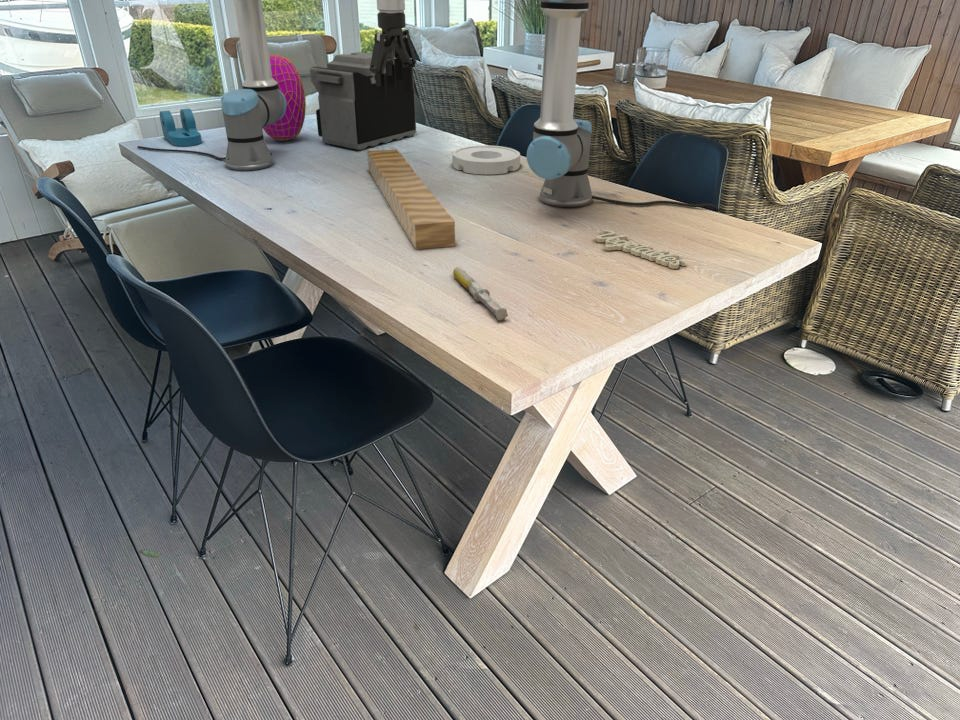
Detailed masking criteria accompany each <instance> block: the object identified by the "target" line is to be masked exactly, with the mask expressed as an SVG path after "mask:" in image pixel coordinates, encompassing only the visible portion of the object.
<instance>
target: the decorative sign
mask: <svg viewBox="0 0 960 720" xmlns="http://www.w3.org/2000/svg"><path fill="white" fill-rule="evenodd" d="M595 242H597V243H604V244H605V245H604V251H607V252H608V251H623V252H625V253H630V254H631V255H634V256H636V257H640V258H642V259H645V260H649V261H650V262H655V263H656V264H657V265H658V264H659V265H661V266H665V267H668V268H670V269H673V270H675V269H679V268H680V266H682V267H685V266H686V260H684V259H680V254H679V253H670V250H666V249H665V250H654V246H651V245H650V244H643V243H632V242H631V241H628V235H626V234H621V235H616V231H613V230H608V229H607V230H606V229H604V230H602V234H598V235H596V237H595Z"/></svg>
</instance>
